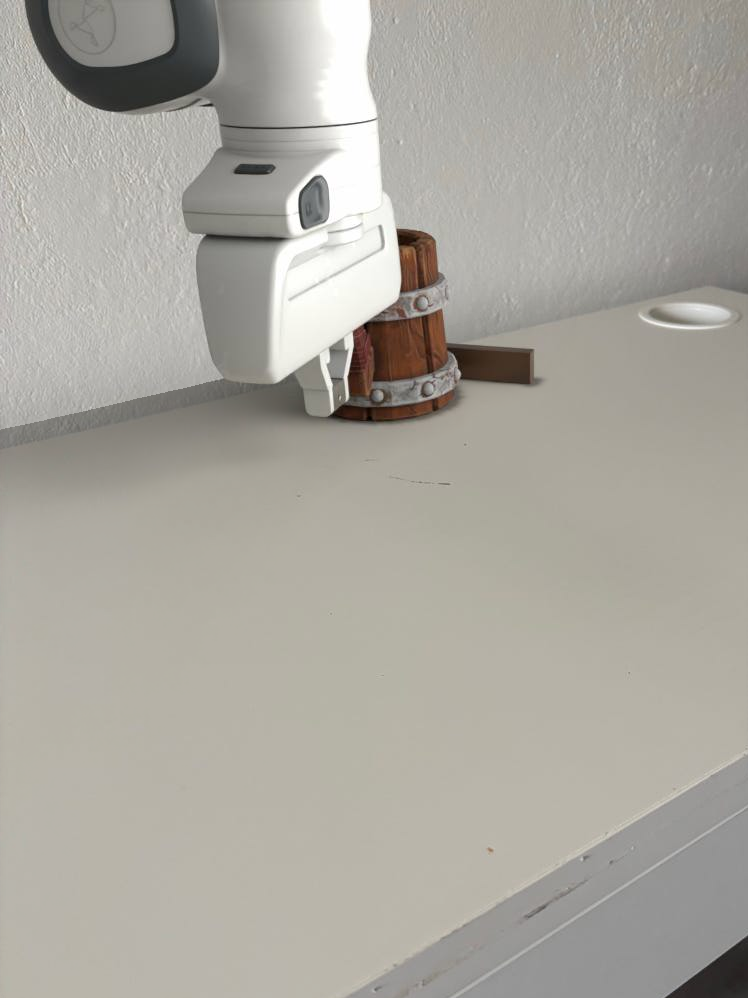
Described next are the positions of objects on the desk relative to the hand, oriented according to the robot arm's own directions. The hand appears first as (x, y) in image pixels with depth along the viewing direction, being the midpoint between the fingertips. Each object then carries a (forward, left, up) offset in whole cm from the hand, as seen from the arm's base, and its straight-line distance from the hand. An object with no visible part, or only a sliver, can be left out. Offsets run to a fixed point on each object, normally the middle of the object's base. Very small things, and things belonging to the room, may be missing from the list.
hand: (328, 409), depth 67 cm
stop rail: (+1, +21, -4) cm, 21 cm away
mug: (-1, +12, -4) cm, 13 cm away
